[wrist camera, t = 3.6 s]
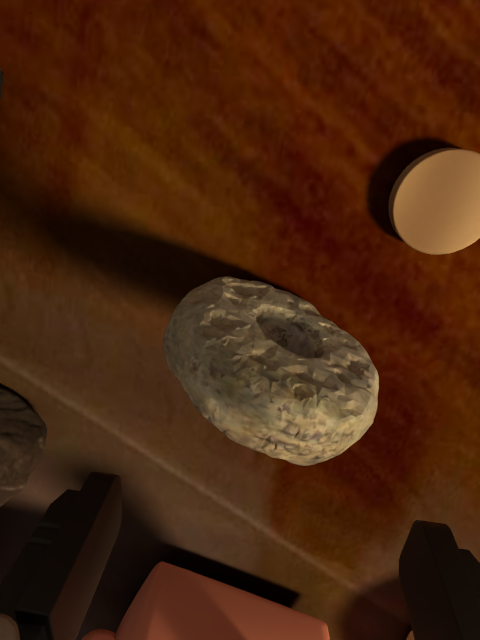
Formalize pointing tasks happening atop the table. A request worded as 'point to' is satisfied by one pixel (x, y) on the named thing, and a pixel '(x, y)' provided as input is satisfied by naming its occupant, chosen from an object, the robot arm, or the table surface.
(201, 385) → the stone ring
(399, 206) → the spoon
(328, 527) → the table surface
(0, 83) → the external hard drive
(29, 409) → the dark brown bone
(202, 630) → the teapot
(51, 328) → the table surface
